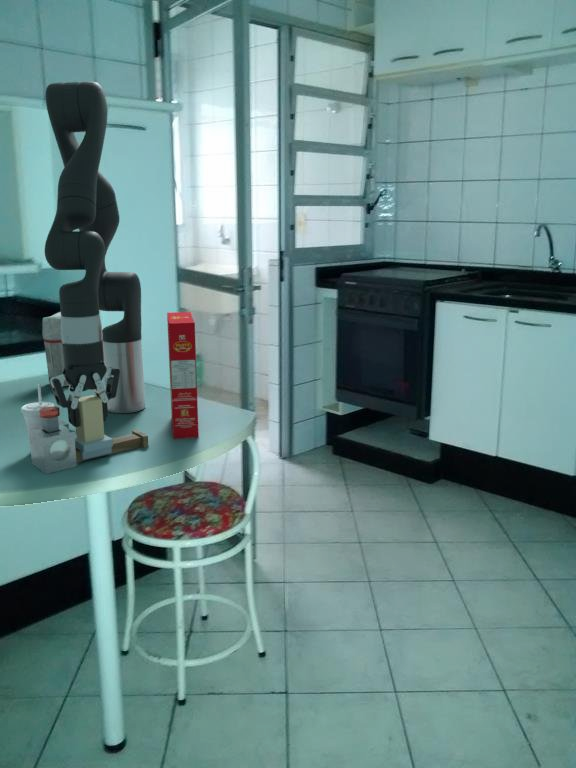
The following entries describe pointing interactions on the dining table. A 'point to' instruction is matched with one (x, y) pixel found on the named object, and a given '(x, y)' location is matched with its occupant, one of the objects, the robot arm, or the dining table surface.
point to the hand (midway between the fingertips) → (88, 422)
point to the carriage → (91, 428)
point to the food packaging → (183, 374)
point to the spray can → (53, 345)
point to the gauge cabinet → (53, 449)
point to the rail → (122, 444)
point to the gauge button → (50, 419)
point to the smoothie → (34, 412)
